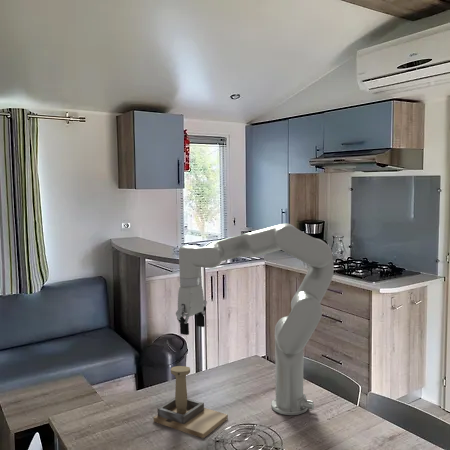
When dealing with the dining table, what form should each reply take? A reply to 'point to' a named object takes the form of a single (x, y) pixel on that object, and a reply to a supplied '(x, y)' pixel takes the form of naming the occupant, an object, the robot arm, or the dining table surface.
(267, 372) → the dining table surface
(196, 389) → the dining table surface
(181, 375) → the handle
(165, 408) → the subfloor panel
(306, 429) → the dining table surface
